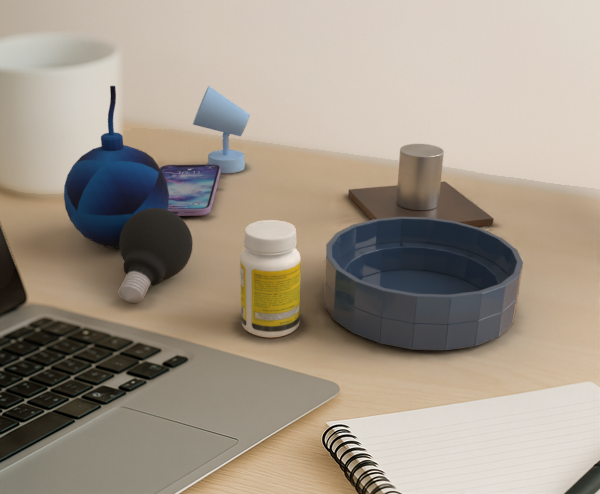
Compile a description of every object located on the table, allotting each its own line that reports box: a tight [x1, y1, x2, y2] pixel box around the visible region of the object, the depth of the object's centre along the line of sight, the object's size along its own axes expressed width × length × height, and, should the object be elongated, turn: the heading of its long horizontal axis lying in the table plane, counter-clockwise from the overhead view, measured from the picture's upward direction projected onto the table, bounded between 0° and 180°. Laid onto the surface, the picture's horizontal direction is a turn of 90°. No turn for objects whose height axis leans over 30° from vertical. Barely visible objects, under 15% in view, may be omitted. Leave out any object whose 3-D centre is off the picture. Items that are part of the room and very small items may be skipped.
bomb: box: [63, 85, 169, 249], centre depth 78 cm, size 10×11×15 cm
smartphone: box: [159, 163, 222, 217], centre depth 94 cm, size 7×1×15 cm
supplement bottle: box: [239, 219, 302, 338], centre depth 65 cm, size 5×5×8 cm
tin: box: [396, 143, 445, 210], centre depth 89 cm, size 5×5×6 cm
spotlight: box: [192, 85, 251, 174], centre depth 100 cm, size 5×10×7 cm
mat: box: [347, 180, 494, 228], centre depth 91 cm, size 12×12×1 cm
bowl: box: [324, 217, 524, 351], centre depth 70 cm, size 16×16×5 cm
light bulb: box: [118, 208, 193, 304], centre depth 72 cm, size 6×6×10 cm
